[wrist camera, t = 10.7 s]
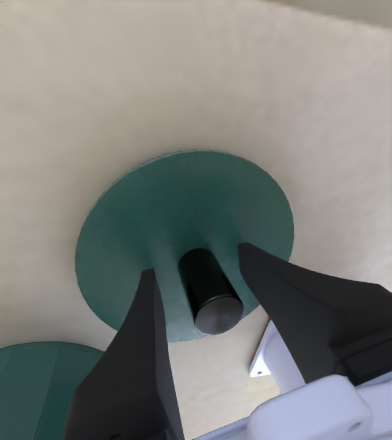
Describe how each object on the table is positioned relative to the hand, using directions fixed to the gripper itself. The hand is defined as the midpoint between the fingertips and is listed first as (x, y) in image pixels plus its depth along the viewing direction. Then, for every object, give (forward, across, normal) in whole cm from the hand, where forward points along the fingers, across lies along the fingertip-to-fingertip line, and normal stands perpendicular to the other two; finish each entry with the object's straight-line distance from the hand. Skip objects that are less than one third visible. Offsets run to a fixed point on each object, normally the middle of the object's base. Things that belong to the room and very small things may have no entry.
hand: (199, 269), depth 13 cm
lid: (+1, 0, 0) cm, 1 cm away
